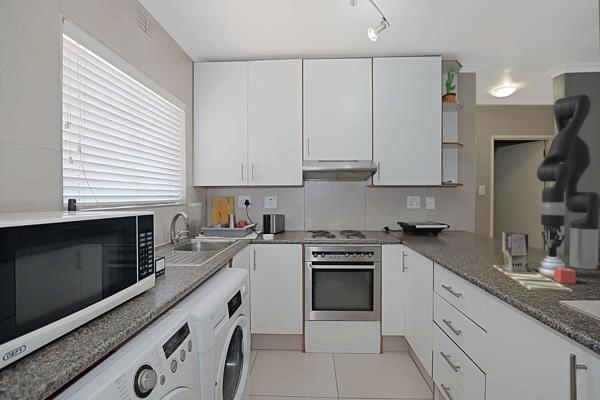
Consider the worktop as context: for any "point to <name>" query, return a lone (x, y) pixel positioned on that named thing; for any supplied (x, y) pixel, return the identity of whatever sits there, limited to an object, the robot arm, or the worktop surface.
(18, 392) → the worktop surface
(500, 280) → the worktop surface
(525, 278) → the wooden divided tray
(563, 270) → the red die
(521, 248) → the coffee box
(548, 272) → the dome base
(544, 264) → the dome
